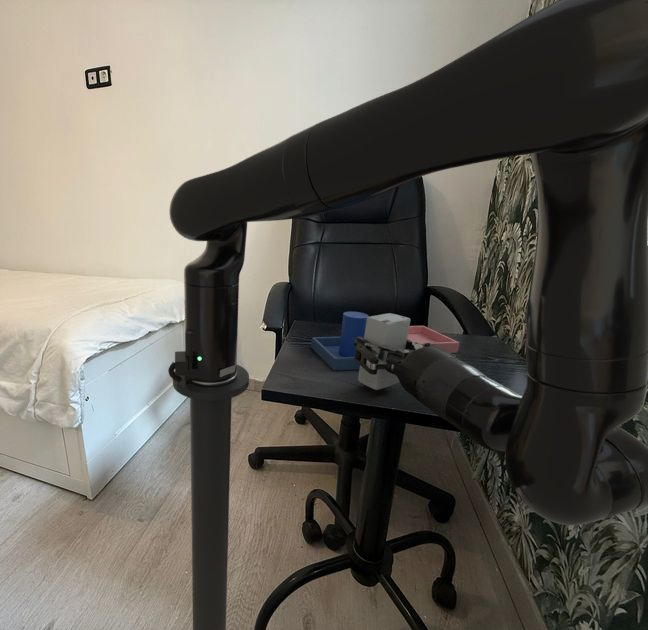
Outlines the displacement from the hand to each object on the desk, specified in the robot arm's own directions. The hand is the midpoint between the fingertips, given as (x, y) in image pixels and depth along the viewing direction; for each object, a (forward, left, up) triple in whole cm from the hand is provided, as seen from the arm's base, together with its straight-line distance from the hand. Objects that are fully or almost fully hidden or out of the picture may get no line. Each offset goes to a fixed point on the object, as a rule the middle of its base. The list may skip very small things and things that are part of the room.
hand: (377, 341), depth 63 cm
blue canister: (+2, +12, -8) cm, 15 cm away
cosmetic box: (0, -2, -7) cm, 8 cm away
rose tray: (+21, +18, -8) cm, 29 cm away
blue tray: (+2, +12, -8) cm, 15 cm away
